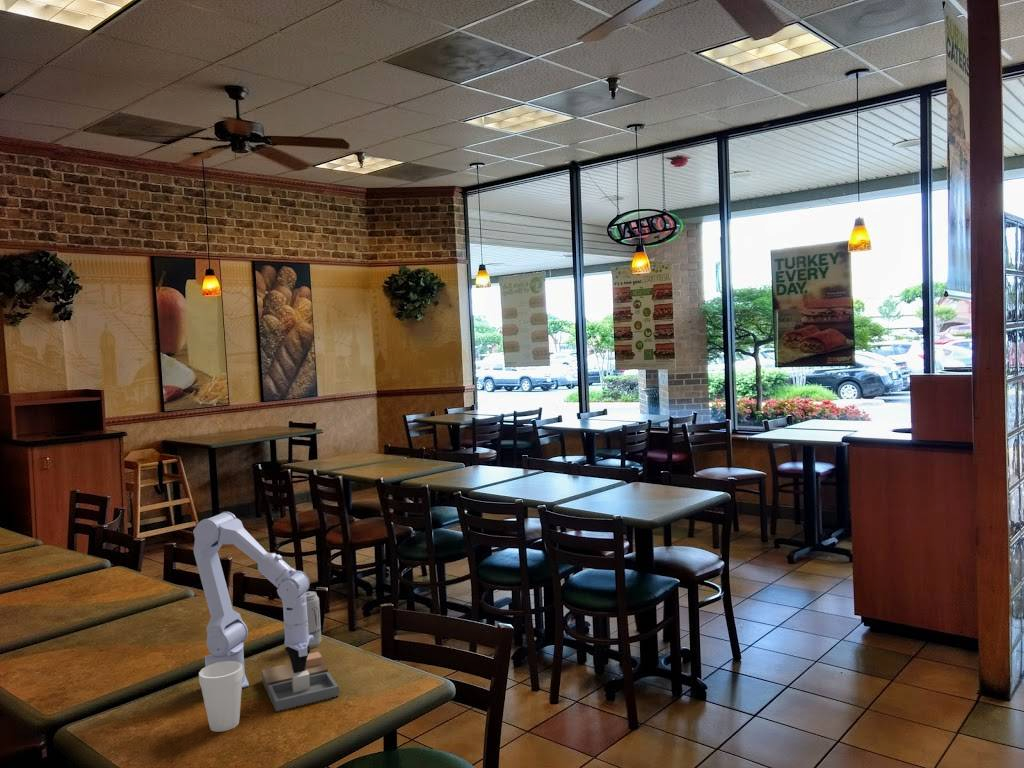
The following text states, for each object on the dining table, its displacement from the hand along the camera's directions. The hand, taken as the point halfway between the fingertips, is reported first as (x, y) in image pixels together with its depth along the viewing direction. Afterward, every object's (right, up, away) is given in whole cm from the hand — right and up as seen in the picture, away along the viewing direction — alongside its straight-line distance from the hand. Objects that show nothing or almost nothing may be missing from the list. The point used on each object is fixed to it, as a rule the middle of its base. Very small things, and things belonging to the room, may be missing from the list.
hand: (299, 675), depth 193 cm
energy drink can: (-5, -3, +30) cm, 30 cm away
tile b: (+1, 0, +9) cm, 9 cm away
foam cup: (-12, -5, -17) cm, 22 cm away
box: (+2, -4, -4) cm, 6 cm away
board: (-2, -4, +5) cm, 7 cm away
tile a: (0, -1, -1) cm, 1 cm away
